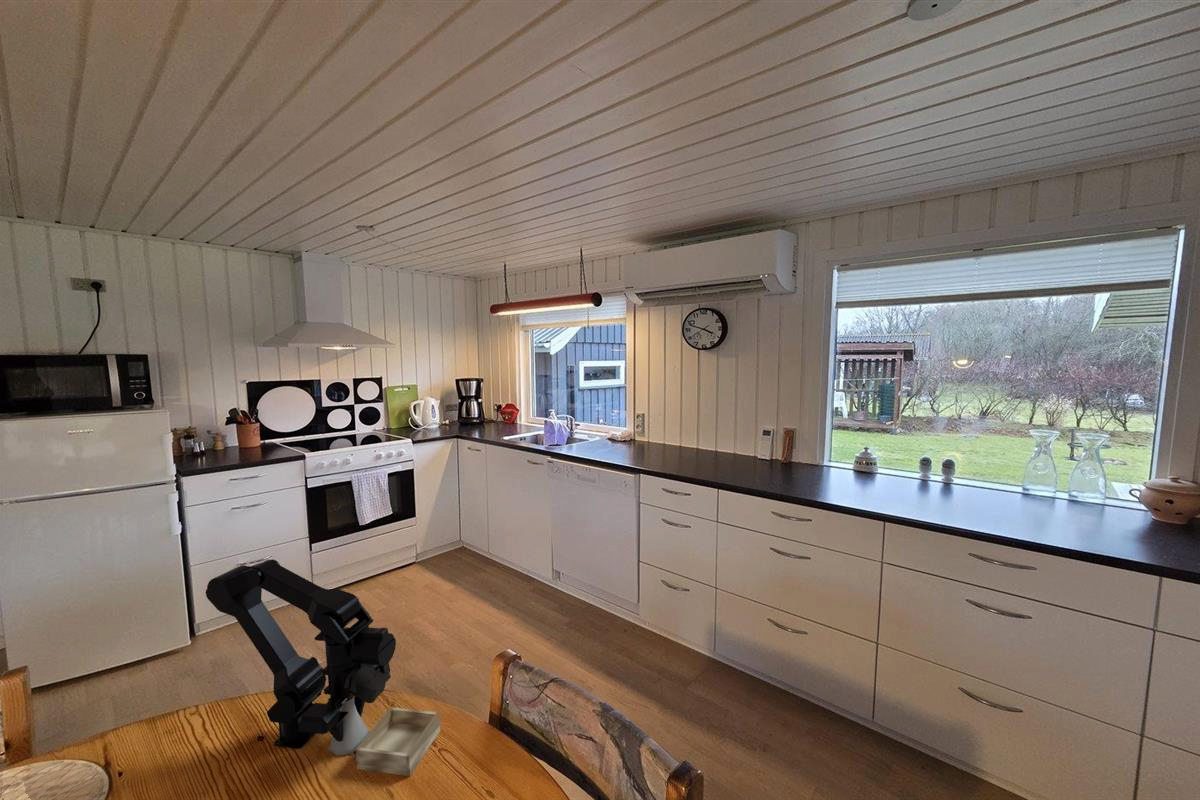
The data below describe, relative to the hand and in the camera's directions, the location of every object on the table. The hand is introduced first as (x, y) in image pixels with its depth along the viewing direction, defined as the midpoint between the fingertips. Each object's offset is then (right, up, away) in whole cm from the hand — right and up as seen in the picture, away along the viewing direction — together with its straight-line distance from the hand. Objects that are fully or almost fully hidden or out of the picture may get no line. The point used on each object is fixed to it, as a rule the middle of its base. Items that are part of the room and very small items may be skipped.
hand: (348, 730), depth 98 cm
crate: (+11, -2, -2) cm, 12 cm away
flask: (0, -3, 0) cm, 3 cm away
